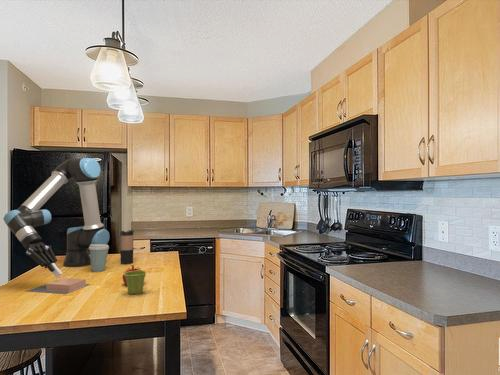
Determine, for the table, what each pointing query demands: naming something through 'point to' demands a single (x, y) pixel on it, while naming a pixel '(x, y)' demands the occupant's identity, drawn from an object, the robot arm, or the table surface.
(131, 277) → the plant pot
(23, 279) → the table surface
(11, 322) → the table surface
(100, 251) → the disposable coffee cup
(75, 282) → the tile
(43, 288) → the mat
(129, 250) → the travel mug
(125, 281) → the pomegranate
